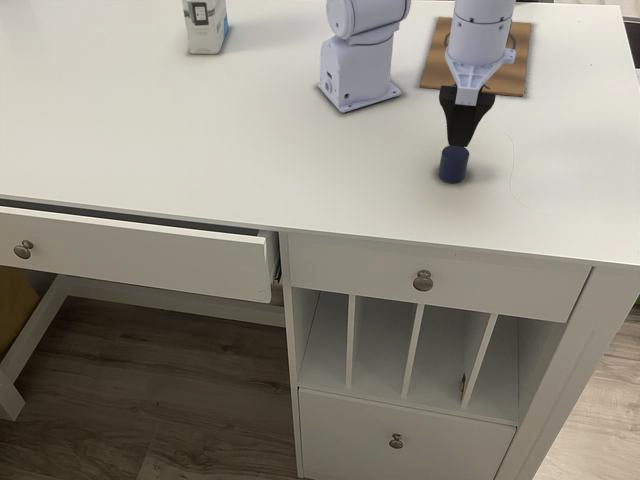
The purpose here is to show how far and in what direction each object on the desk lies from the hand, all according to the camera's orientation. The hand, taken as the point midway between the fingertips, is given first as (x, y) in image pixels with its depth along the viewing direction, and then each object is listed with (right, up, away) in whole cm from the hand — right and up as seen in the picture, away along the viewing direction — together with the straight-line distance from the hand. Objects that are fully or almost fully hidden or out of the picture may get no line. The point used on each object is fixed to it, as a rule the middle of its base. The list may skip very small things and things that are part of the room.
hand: (461, 124), depth 77 cm
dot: (0, -5, +5) cm, 7 cm away
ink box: (-31, +22, +32) cm, 50 cm away
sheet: (+10, +16, +22) cm, 29 cm away
